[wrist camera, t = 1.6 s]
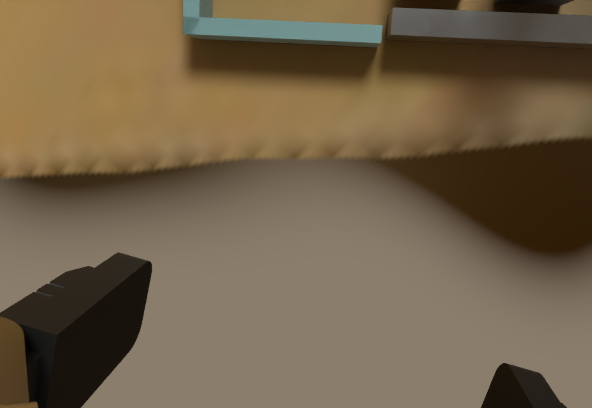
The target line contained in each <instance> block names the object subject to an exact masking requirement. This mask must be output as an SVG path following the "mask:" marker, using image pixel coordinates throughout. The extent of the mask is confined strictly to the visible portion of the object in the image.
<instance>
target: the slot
mask: <svg viewBox="0 0 592 408" xmlns="http://www.w3.org/2000/svg"><path fill="white" fill-rule="evenodd" d="M386 40H403V41H425V42H446V43H468V44H489V45H511V46H532V47H554V48H576V49H592V16H586V15H562V14H538V13H513V12H489V11H465V10H441V9H417V8H392V10H391V12H390V13H389V15H388V24H387V35H386Z"/></svg>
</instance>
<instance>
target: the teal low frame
mask: <svg viewBox="0 0 592 408" xmlns="http://www.w3.org/2000/svg"><path fill="white" fill-rule="evenodd" d="M382 28H383V25H364V24H341V23H319V22H296V21H273V20H251V19H228V18H212V0H183V34H185V35H188V36H191V37H194V38H196V39H212V40H233V41H254V42H275V43H296V44H317V45H338V46H359V47H378V46H379V45H380V44H381V39H382Z"/></svg>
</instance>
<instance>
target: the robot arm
mask: <svg viewBox="0 0 592 408" xmlns="http://www.w3.org/2000/svg"><path fill="white" fill-rule="evenodd" d="M151 273H152V264H151V262H150V261H147V260H143V259H140V258H136V257H132V256H129V255H126V254H122V253H116V254H115V255H113V256H112V257H110V258H109V259H107V260H106V261H104V262H103V263H101V264H100V265H99V266H97V267H95V268H93V267H90V266H87V267H83V268H79V269H75V270H71V271H68V272H65V273H63V274H62V275H60V276H59V277H57V278H55V279H54V280H52V281H51V282H50V284H46V285H44V286H43V287H41V288H39V289H38V290H37V292H36V293H35V292H33V293H32V294H30V295H28V296H26V297H25V298H23V299H22V300H20V301H18V302H17V303H15V304H14V305H12V306H10V307H9V308H7V309H6V310H4V311H2V312H1V313H0V408H81V407H82V406H83V405H84V403H85V402H86V401H87V400H88V399H89V398H90V396H91V395H92V394H93V393H94V392H95V391H96V390H97V388H98V387H99V386H100V385H101V384H102V383H103V381H104V380H105V379H106V378H107V377H108V376H109V375H110V373H111V372H112V371H113V370H114V368H116V366H117V365H118V364H119V363H120V362H121V361H122V359H123V358H124V357H125V356H126V355H127V353H129V351H130V350H131V349H132V347H133V345H134V343H135V341H136V339H137V337H138V334H139V332H140V329H141V325H142V320H143V315H144V310H145V304H146V299H147V294H148V289H149V284H150V278H151ZM481 408H567V407H566V406H565V405H563V404H562V403H560V401H559V400H558V398H557V397H556V395H555V394H554V392H553V391H552V389H551V388H550V386H549V385H548V383H547V382H546V380H545V379H544V377H543V376H542V375H541V374H540V373H538V372H534V371H531V370H527V369H524V368H520V367H517V366H514V365H510V364H507V363H503V364H501V365H500V366H499V367H498V368H497V370H496V372H495V374H494V377H493V379H492V382H491V384H490V387H489V389H488V392H487V394H486V397H485V399H484V401H483V404H482V406H481Z"/></svg>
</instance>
